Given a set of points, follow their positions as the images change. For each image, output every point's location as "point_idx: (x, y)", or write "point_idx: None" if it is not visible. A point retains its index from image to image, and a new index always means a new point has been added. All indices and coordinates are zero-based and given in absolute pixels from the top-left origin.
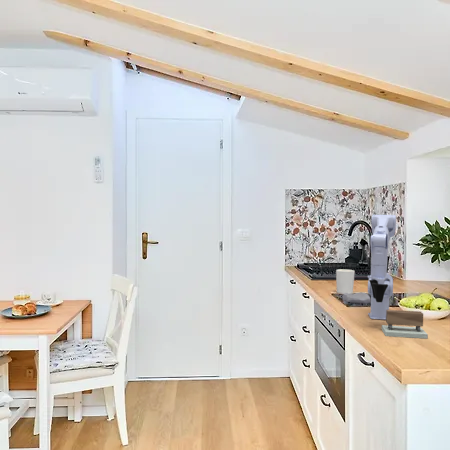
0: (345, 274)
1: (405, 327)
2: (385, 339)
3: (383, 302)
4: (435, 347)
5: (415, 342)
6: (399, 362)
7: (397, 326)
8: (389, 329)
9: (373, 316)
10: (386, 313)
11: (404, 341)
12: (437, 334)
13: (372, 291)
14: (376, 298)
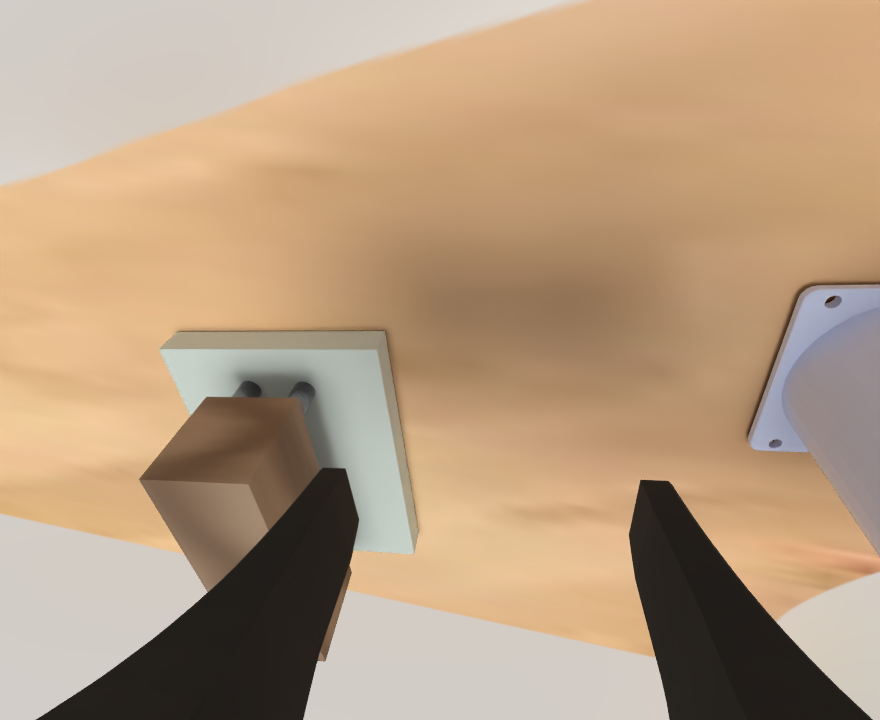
0: None
1: (373, 483)
2: (84, 317)
3: (871, 528)
4: (110, 513)
5: (141, 459)
6: None
7: (382, 446)
8: (241, 383)
9: (848, 324)
10: (248, 455)
11: (120, 414)
12: (385, 576)
13: (711, 572)
14: (290, 509)
